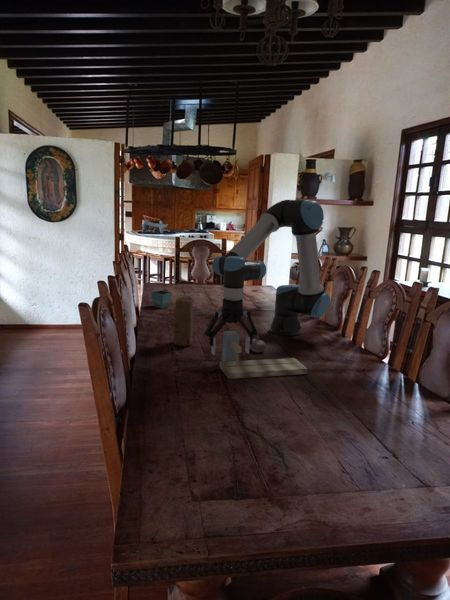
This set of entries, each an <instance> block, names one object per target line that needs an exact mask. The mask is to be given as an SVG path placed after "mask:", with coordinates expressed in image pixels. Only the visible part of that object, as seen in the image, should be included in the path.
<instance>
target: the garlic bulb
mask: <svg viewBox="0 0 450 600" xmlns="http://www.w3.org/2000/svg"><path fill="white" fill-rule="evenodd" d="M260 335H261V332H259V331H257V335H256V338H252V344H250V347H249V349H251V351H252V352H254V353H264V351H265V350H266V342H265V341H264V340H261V339H260Z"/></svg>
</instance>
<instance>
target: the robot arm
mask: <svg viewBox="0 0 450 600" xmlns="http://www.w3.org/2000/svg"><path fill="white" fill-rule="evenodd" d="M324 215H325V214H324V210H323V207H322V206H321V204H320V203H319V202H318V201H316V200H310V199H284V200H280V201H278V202H276V203H274V204H273V205H271V206H270V207H269V208H267V209H266V210H265V211H264V212H263V213H261V215H260V216H259V221H257V222H256V223H255V224H254V225H253V227H251V229H250V230H248V232H246V233H245V235H243V237H242V238H241V239H239V241H238V242H237V243H236V244H235V245H234V246H233V247H232V248H231V249H230V250H229V251H228V252H227V253H226V254H225V255H221V256H220V255H219V256H216V257H214V259H213V261H212V265H211V267H212V270H213V273H215V274H216V275H219V276H222V277H223V288H222V297H223V299H222V310H221V311H217V310H213V314H212V315H213V316H212V317H211V320H210V322H209V323H208V326H207V327H206V330H205V331H204V335H205V336H206V337H209V339H208V340H209V341H208V342H209V343H208V345H209V346H211V350H210V351H211V354H212V356H215V355H216V344H217V343H216V342H217V341H216V339H217V338H216V337H215V336H217V334H218V333H219V332H220V330H222V328H223V327H224V326H225V325H226V324H239V325H240V326H241V327H242V328H243V330H244V331H245V332H246V333H247V335H245V349H244V352H245V353H246V354H250V344H252V340H253V337H254V336H257V333H258V330H257V328H256V326H255V324H254V322H253V320H252V316H251V311H250V310H249V309H246V310H244V311H243V309H244V307H243V306H244V305H243V304H244V299H243V298H244V288H245V287H244V285H245V282H249V281H258V280H261V279H264V277H265V276H266V274H267V266H266V264H265V262H263V261H262V260H256V259H253V260H250V259H249V257H251V256H252V254H253V253H254V252H256V250H257V249H259V247H260V246H261V245H262V244H263V243H264V242H265V241H266V240H267V238H269V236H271V234H272V233H275V232H277V231H278V230H279V229H281V228H284V227H285V228H291V234H292V235H293V236H294V237H295V240H296V241H295V242H296V251H297V260H298V269H299V271H298V272H299V278H300V284H283V285H282V284H281V285H279V286H277V288H276V291H275V292H276V293H275V301H274V302H275V305H274V307H275V308H274V317H273V318H272V321H271V324H270V328H269V331H270V332H271V333H272V334H275V335H280V336H288V337H289V336H297V335H300V334H302V326H301V322H300V315H304V316H309V317H311V318H318V319H320V318H322V317H323V316H326V314H327V312H328V310H329V308H330V305H331V296H330V295H329V293H327V292H325V287H324V285H323V284H321V277H320V266H319V256H318V243H317V233H319V231H320V228H321V227H322V226H323V224H324V219H325V216H324ZM248 259H249V260H248ZM299 314H300V315H299ZM220 316H221V317H222V318H221V319H220V321H219V322H218V319H219V318H220ZM243 316H244V317H245V318H246V321H247V322H248V325H249V327H250V329H249V327H248V326H247V325H246V324H245V322H244V321H243V320H242V317H243ZM217 322H218V323H217ZM216 323H217V324H216ZM215 325H216V326H215Z"/></svg>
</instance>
